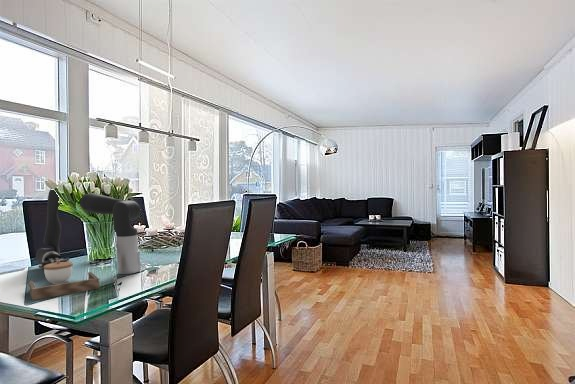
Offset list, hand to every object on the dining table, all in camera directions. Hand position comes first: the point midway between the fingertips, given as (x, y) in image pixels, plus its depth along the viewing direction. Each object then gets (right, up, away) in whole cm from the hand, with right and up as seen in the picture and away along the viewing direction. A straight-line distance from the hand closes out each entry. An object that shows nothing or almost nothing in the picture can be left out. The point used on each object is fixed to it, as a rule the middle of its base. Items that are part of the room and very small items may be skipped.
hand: (56, 265), depth 176 cm
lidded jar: (+4, -6, -5) cm, 9 cm away
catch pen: (+13, -6, -17) cm, 22 cm away
